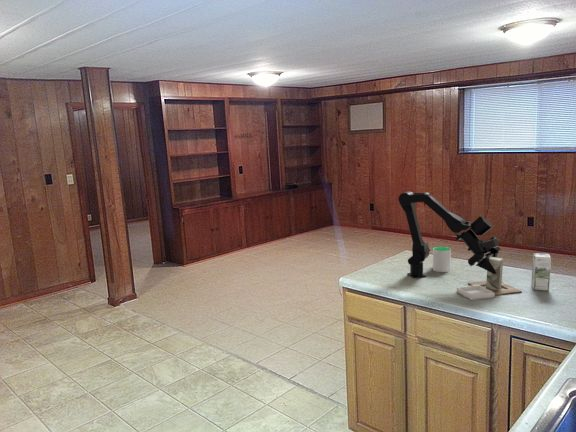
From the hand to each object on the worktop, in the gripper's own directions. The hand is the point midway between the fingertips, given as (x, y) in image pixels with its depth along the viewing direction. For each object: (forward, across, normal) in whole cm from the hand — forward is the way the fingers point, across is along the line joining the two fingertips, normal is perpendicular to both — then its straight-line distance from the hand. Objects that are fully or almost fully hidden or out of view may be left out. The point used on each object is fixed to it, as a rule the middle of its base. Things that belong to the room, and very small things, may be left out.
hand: (498, 272), depth 191 cm
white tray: (+3, -13, +7) cm, 15 cm away
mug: (-18, +11, +29) cm, 36 cm away
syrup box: (+14, +12, -3) cm, 18 cm away
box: (+4, 0, +6) cm, 7 cm away
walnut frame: (+4, 0, +6) cm, 7 cm away
